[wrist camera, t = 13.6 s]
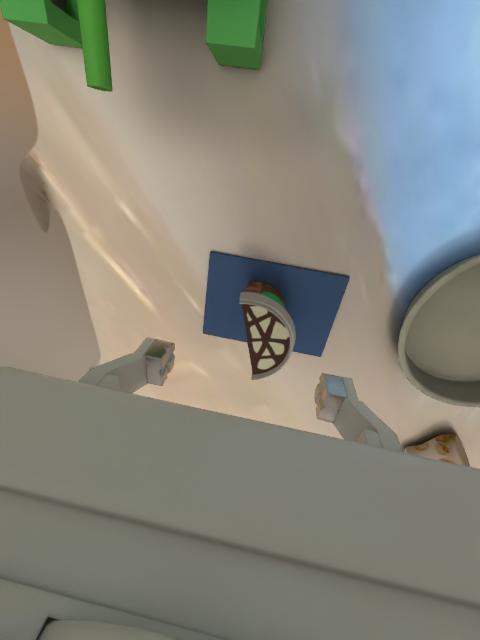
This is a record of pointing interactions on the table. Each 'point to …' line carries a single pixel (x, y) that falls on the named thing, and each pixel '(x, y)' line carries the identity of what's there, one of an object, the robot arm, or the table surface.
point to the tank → (91, 31)
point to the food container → (267, 328)
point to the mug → (441, 449)
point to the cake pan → (445, 336)
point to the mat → (295, 287)
